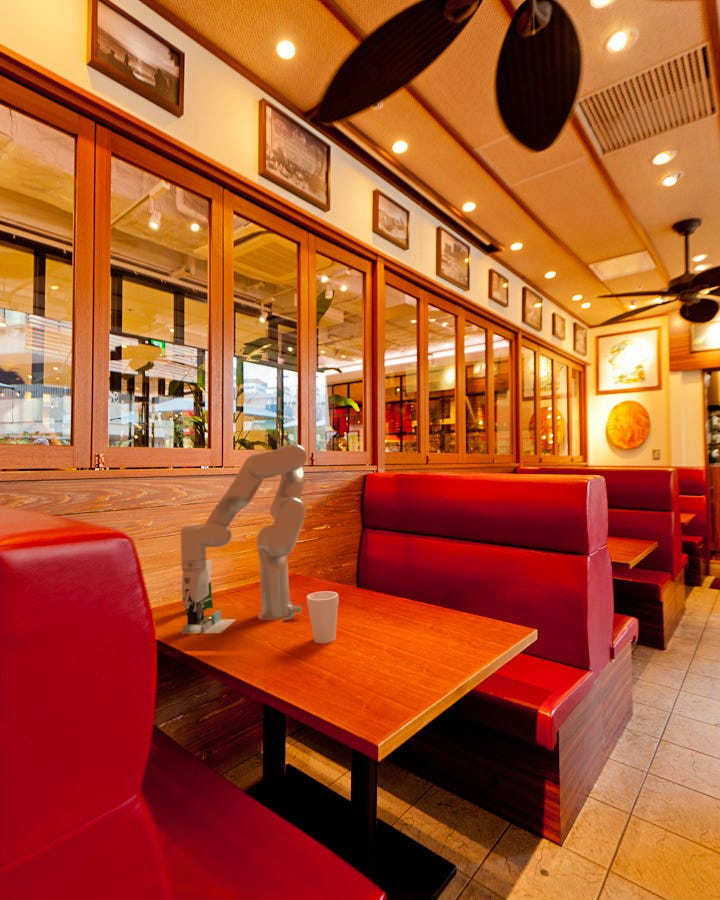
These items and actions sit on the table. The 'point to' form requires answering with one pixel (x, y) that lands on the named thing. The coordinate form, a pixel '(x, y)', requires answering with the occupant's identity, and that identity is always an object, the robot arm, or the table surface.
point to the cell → (199, 610)
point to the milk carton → (209, 598)
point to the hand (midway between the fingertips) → (195, 621)
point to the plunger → (206, 618)
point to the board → (209, 625)
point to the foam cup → (323, 615)
